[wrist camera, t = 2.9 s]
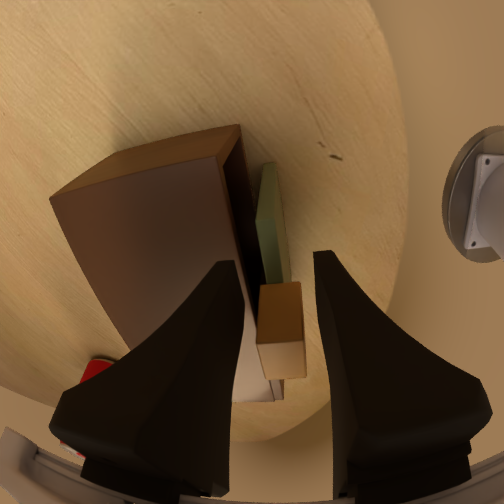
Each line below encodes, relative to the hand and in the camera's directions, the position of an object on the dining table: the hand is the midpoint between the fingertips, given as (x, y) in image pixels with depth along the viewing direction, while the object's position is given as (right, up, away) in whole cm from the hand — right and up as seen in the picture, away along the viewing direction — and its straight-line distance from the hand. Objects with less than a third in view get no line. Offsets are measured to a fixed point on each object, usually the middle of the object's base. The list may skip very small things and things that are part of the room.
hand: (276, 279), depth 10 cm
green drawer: (+1, +3, +8) cm, 8 cm away
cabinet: (-4, +1, +10) cm, 10 cm away
